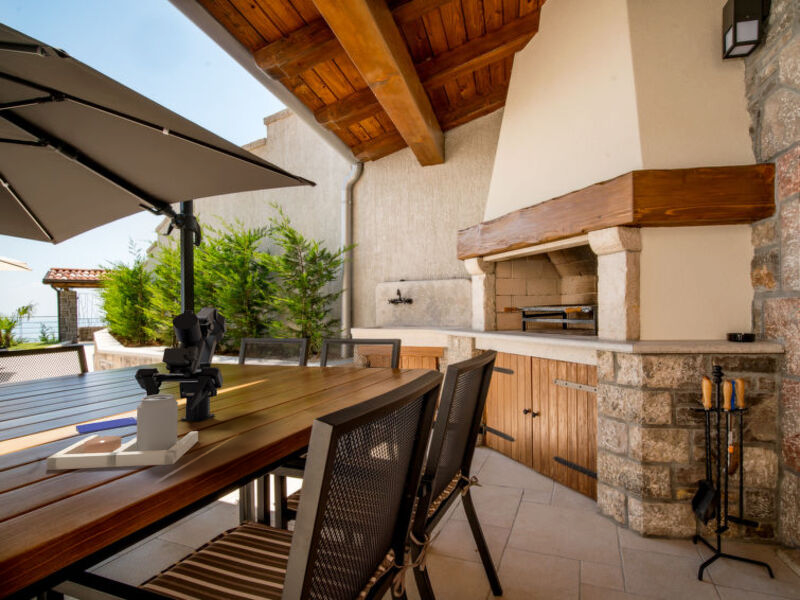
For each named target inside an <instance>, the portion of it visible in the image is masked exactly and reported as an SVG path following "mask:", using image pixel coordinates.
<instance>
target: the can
mask: <svg viewBox="0 0 800 600" xmlns="http://www.w3.org/2000/svg"><path fill="white" fill-rule="evenodd" d="M140 400H141V401H140V402H139V404H137V410H136V421H137V426H136V437H137V443H136V451H160V450H169V449H170V448H171V447H173V446H174V445H175V444H176V443H177V442H178V412H179V411H178V409H179V406H178V404H179V402H178V401H177V400H176V399H175V395H174V394H170V393H167V394H166V393H161V394H160V393H159V394H158V395H150V396H147V395H146V396H143V397H141V399H140Z"/></svg>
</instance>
